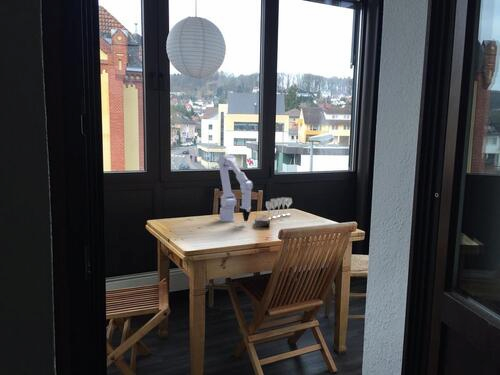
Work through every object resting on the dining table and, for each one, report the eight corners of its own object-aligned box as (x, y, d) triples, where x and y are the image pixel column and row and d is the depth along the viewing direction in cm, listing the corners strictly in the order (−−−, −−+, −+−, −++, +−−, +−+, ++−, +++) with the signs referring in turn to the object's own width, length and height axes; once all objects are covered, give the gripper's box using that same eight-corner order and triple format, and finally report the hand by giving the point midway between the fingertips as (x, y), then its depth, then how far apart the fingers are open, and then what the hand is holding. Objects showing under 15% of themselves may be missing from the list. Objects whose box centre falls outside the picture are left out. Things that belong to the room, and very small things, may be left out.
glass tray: (257, 226, 266) (257, 220, 266) (254, 224, 271) (254, 218, 271) (267, 225, 268) (267, 219, 268) (264, 224, 273) (264, 218, 273)
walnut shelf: (256, 228, 261) (256, 220, 260) (256, 222, 278) (256, 215, 277) (269, 228, 261) (269, 220, 260) (268, 222, 278) (269, 215, 277)
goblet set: (269, 219, 289) (270, 200, 287) (263, 218, 293) (263, 199, 291) (293, 214, 310) (293, 196, 308) (286, 213, 314) (287, 195, 312)
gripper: (238, 198, 273) (237, 218, 275) (242, 201, 259) (241, 223, 261) (248, 198, 275) (248, 218, 276) (253, 201, 261) (253, 223, 262)
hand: (245, 220), depth 269 cm, fingers closed
